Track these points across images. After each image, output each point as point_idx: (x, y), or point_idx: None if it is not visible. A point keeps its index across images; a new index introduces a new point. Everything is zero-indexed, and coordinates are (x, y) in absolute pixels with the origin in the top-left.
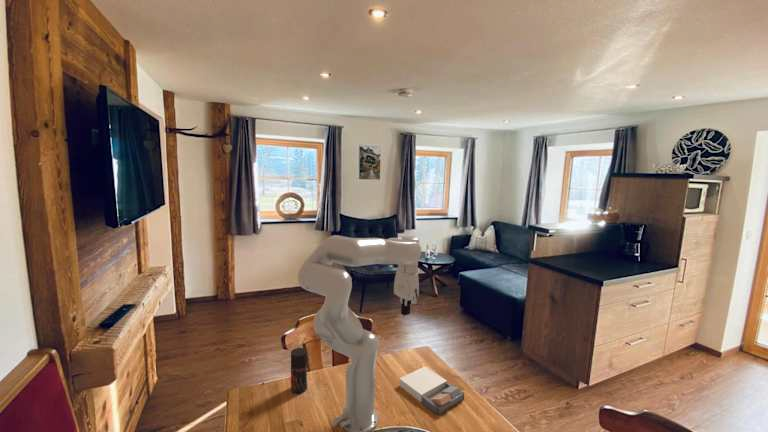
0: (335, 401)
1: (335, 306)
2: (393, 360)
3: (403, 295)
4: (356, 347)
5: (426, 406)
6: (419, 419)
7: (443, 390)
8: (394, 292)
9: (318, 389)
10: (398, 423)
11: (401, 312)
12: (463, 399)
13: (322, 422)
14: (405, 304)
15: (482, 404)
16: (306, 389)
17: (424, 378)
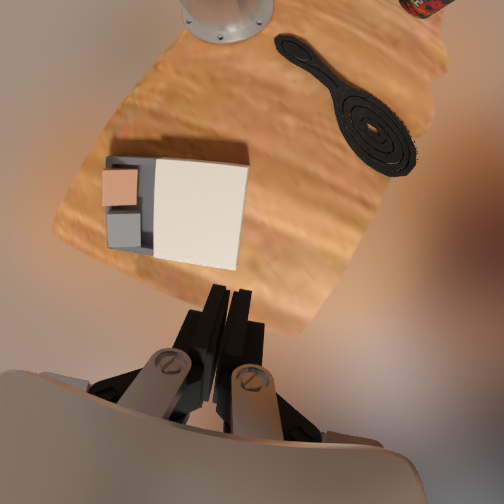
0: (322, 10)
1: None
2: (342, 249)
3: (90, 453)
4: None
5: (146, 156)
6: (133, 112)
7: (137, 220)
8: (393, 468)
9: (387, 19)
10: (157, 66)
11: (244, 297)
12: None
13: None
14: (174, 366)
15: (90, 255)
16: (402, 6)
17: (196, 222)
